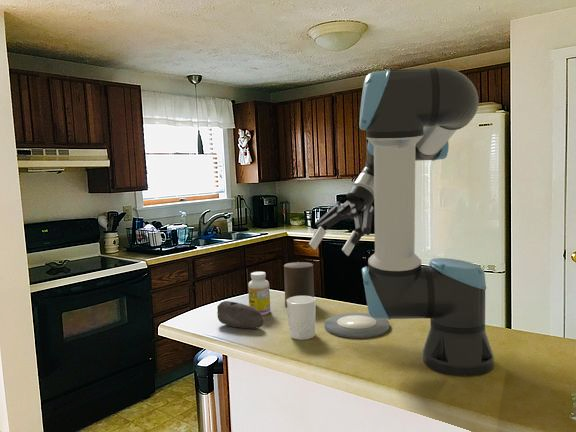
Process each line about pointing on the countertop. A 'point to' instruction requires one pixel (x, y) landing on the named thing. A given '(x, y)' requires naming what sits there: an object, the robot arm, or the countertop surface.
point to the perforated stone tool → (239, 315)
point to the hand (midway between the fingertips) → (327, 249)
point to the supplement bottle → (259, 293)
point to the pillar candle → (298, 280)
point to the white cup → (301, 316)
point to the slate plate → (356, 325)
